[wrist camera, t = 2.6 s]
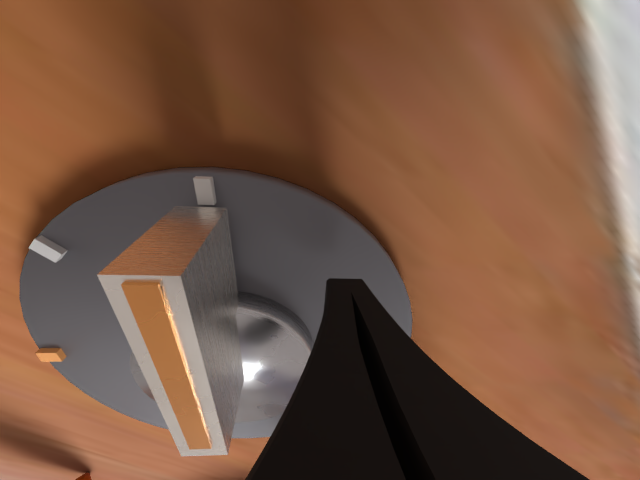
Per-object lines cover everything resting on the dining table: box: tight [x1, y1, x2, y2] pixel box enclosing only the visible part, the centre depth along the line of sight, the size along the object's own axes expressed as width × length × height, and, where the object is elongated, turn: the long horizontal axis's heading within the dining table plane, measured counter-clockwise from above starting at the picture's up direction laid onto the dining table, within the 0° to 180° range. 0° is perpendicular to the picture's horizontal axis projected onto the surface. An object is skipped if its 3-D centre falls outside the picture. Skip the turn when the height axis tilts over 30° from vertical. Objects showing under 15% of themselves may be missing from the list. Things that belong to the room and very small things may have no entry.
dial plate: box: [20, 167, 412, 438], centre depth 15 cm, size 20×20×1 cm
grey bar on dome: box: [97, 206, 314, 456], centre depth 11 cm, size 14×9×5 cm, turn 177°
